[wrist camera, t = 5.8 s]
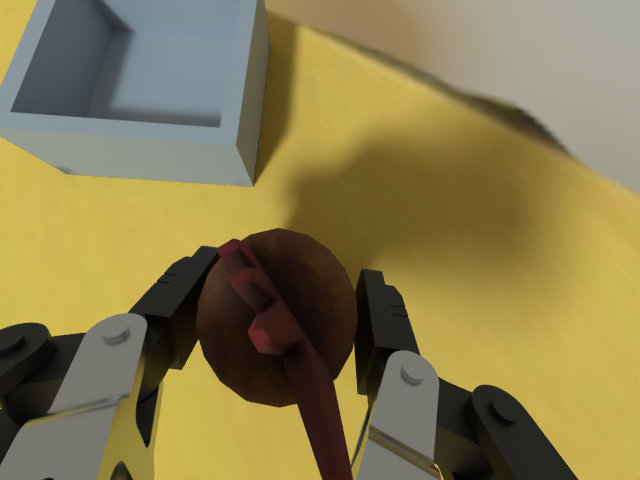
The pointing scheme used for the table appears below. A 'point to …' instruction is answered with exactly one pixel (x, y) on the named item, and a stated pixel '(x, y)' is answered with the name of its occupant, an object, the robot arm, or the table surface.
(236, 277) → the wooden figurine
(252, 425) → the table surface
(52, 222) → the table surface
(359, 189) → the table surface
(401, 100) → the table surface
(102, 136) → the slate tray
